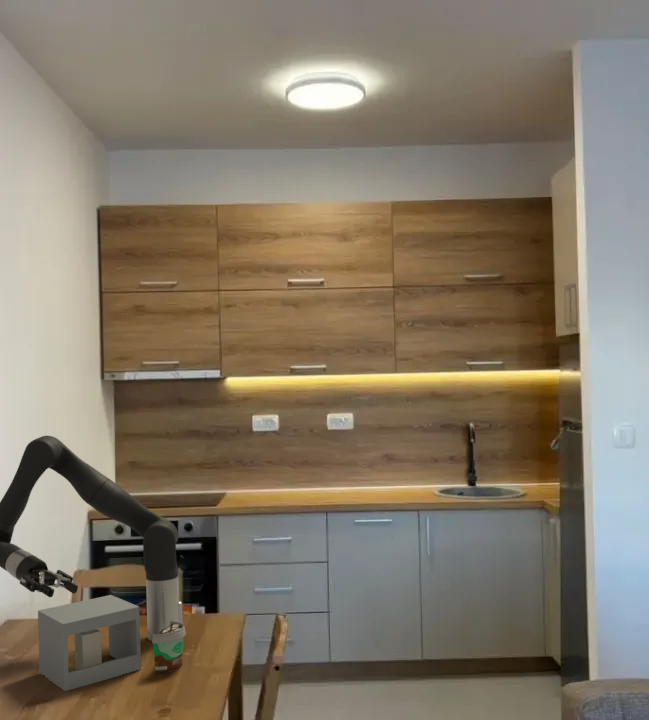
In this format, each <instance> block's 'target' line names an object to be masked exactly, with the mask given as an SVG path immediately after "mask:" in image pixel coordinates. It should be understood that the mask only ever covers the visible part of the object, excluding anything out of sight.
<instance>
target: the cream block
mask: <svg viewBox="0 0 649 720" xmlns="http://www.w3.org/2000/svg"><path fill="white" fill-rule="evenodd" d="M102 653H103V652H102V631H101V630H99V629H94V630H90V631H85V632H81V633H77V634H74V657H75V662H74V663H75V665H74V666H75V670H78V669H81V668H85V667H89V666H92V665H96V664H100V663H103V657H102V655H103V654H102Z"/></svg>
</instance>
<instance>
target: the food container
mask: <svg viewBox="0 0 649 720" xmlns="http://www.w3.org/2000/svg"><path fill="white" fill-rule="evenodd" d="M186 635H187V632H186V627H185V626H184V623H183V624H182V623H180V622H176V621H170V625H169V626H168V627H167V628H165V629H162V630H161V632H160V633H159V634H153V637H152V641H151V643H152V645H153V655H154V657H153V658H154V659H153V660H154V669H155V672H154V673H155V674H163V673H162V672H166V673H170V672H169V671H171V672H174V671H177V670H179V669H180V667H181V666H183V655H184V652H183V651H184V637H185V636H186ZM178 668H179V669H178ZM181 668H182V667H181ZM176 669H177V670H176ZM173 670H174V671H173Z"/></svg>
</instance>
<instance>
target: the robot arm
mask: <svg viewBox="0 0 649 720" xmlns="http://www.w3.org/2000/svg"><path fill="white" fill-rule="evenodd" d="M48 469H50V470H53V471H54V472H56V473H57V474H59V475H60V476H62V477H63V478H64V479H65V480H67V481H68V482H69V484H70V485H71V486H72V488H73V489H74V490H75V492H76V493H77V494H78V496H79V497H80V498H81V499H82V500H83V502H85V504H88V505H89V506H91V508H93V509H94V510H96V511H97V512H98V513H100V514H102V515H103V516H105V517H107V518H109V519H111V520H114V521H115V522H118V523H121V524H124V525H125V526H128V527H129V528H131V529H132V530H134V531H135V532H136V533H137V534H138V535H139V536H141V537H142V538H143V540H142V545H143V547H142V548H143V566H144V572H145V586H146V588H145V590H146V618H147V619H146V620H147V621H146V622H147V640H149V641H151V642H152V637H153V634H159V633H160V632H161V630H162V629H165V628H167V627H168V626H169V625H170V621H176V622H180V623H182V624H183V625H184V623H183V602H182V601H180V592H179V591H180V589H179V567H178V565H177V547H176V546H177V543H178V540H179V531H178V529H177V526H175V524H174V523H173V522H171V521H170V520H168V519H166V518H164V517H162V516H161V515H159V514H157V513H155V512H154V511H152V510H150V509H149V508H148V507H146V506H145V505H143V504H142V503H141V502H139V500H138V499H136V498H135V497H134V496H133V495H132V494H130V493H129V492H127V491H126V490H125V489H123V488H122V487H121V485H118V484H117V483H115V482H114V481H113V480H112V479H110V478H108V477H107V476H106V475H104V474H103V473H101V472H100V471H99V470H97V469H96V468H95V467H93V466H92V465H90V464H88V463H87V462H86V461H84V460H83V459H81V458H80V457H79V456H78V455H76V454H75V453H74V452H73V451H72V450H71V449H70V448H69V447H68V446H67V445H65V443H64V442H62V441H61V440H60V439H58V438H57V437H55V436H52V435H43V436H40V437H37V438H35V439H33V440H31V441H30V442H29V443H28V444H27V445H26V446H25V448H24V451H23V454H22V456H21V459H20V462H19V465H18V467H17V470H16V472H15V474H14V476H13V479H12V480H11V483H10V484H9V486H8V488H7V490H6V491H5V493H4V495H3V497H2V499H1V500H0V568H1V569H3V570H4V571H6V572H7V573H8V574H10V575H11V576H12V577H13V578H15V579H16V580H18V581H19V585H21V586H22V587H23V588H25V589H27V590H28V591H29V592H31V593H35V592H37V593H42V594H43V595H45V596H47V597H48V598H52V597H53V596H54V595H55V594H54V593H55V589H54V588H57V589H58V588H64V589H65V590H66V591H69V592H70V593H72V594H76V593H77V592H78V588H79V586H78V585H77V584H76V583H73V580H74V577H73V576H71V575H69V574H68V573H66V572H64V571H63V570H60V569H57V570H56V572H54V571H53V570H50V569H48V565H47V563H46V562H45V561H44V560H42V559H40V558H39V557H37V556H36V555H34V554H32V553H31V552H30V551H27V550H24V549H23V548H21V547H19V546H18V545H16V544H14V543H11V541H12V538H13V534H14V530H15V526H16V525H17V523H18V521H19V520H20V518H21V517H22V515H23V513H24V511H25V509H26V507H27V504H28V502H29V500H30V496H31V493H32V491H33V490H34V489H33V488H34V487H35V485H36V484H37V482H38V481H39V479H40V478H41V476H42V475H43V474H44V473H45V472H46V471H47V470H48ZM56 581H57V582H56Z"/></svg>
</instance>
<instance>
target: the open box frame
mask: <svg viewBox="0 0 649 720" xmlns="http://www.w3.org/2000/svg"><path fill="white" fill-rule="evenodd" d="M140 613H141V612H140V606H138V605H136V604H133V603H132V602H129V601H127V600H124V599H121V598H120V597H117V596H114V595H112V594H108V595H105V596H104V595H103V596H100V597H95V598H91V599H87V600H86V599H85V600H81V601H76V602H72V603H67V604H63V605H58V606H53V607H48V608H45V609H38V610H37V623H38V624H37V625H38V656H39V657H38V662H39V665H38V666H39V674H40V673H41V674H42V675H41V674H40V675H41V676H43V675H44V676H45V677H44V676H43V677H44V678H45V679H47V678H48V679H49V680H48V679H47V680H48V681H50V682H51V681H52V683H53V684H54V685H55V684H56V685H55V686H56V687H58V688H60V689H61V690H63V691H64V692H68V691H70V690H74V689H77V688H81V687H85V686H88V685H93V684H96V683H99V682H103V681H106V680H110V679H113V678H117V677H120V676H123V674H124V675H127V674H130V672H131V673H134V672H137V670H138V671H141V670H142V657H141V656H142V652H141V619H140ZM105 627H107V628H108V652H109V654H108V656H111V657H113V658H114V659H111V660H107V661H104V662H103V661H102V663H100V664H96V665H92V666H89V667H85V668H81V669H78V670H76V669H75V670H70V671H69V648H68V645H69V644H68V643H69V640H68V639H69V638H68V636H72V635H75V634H77V633H81V632H85V631H90V630H94V629H97V630H99V629H102V628H105ZM140 669H141V670H140ZM133 671H134V672H133ZM126 673H127V674H126Z"/></svg>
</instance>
